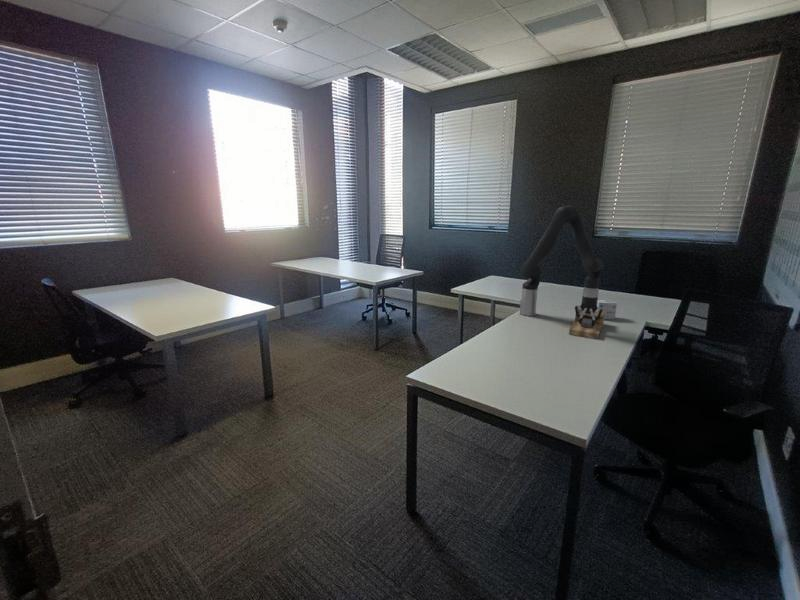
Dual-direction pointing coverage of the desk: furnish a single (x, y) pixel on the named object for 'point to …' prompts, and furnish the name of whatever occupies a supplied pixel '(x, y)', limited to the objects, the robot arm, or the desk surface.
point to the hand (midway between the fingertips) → (586, 325)
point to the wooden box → (587, 332)
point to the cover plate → (586, 322)
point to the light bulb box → (607, 308)
